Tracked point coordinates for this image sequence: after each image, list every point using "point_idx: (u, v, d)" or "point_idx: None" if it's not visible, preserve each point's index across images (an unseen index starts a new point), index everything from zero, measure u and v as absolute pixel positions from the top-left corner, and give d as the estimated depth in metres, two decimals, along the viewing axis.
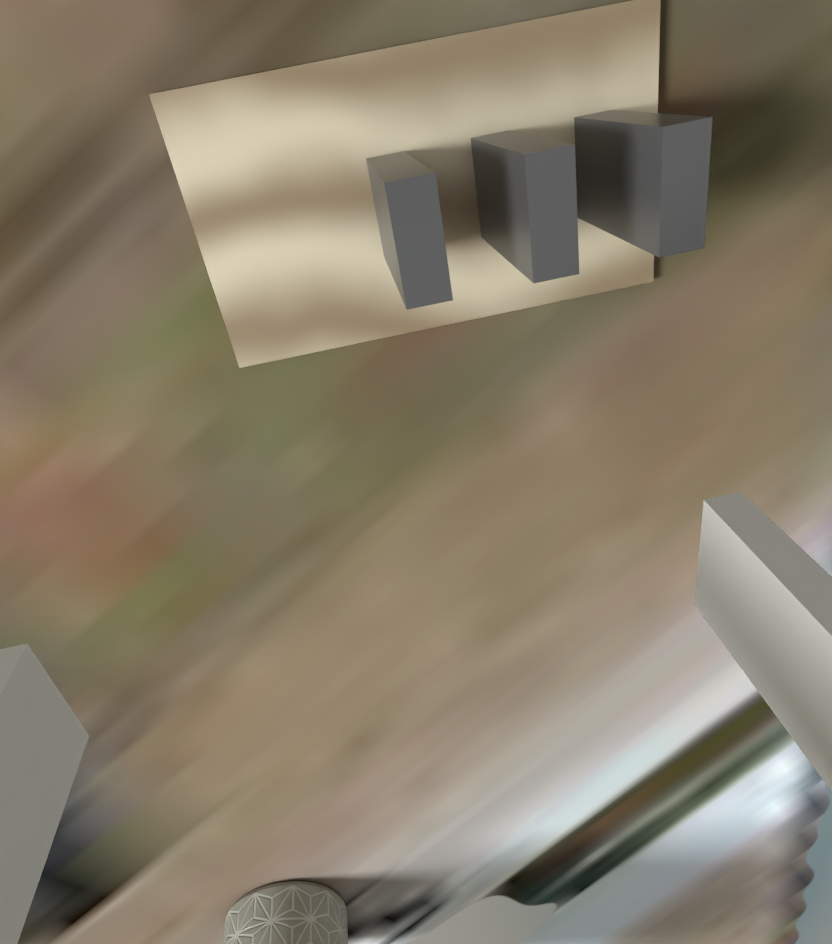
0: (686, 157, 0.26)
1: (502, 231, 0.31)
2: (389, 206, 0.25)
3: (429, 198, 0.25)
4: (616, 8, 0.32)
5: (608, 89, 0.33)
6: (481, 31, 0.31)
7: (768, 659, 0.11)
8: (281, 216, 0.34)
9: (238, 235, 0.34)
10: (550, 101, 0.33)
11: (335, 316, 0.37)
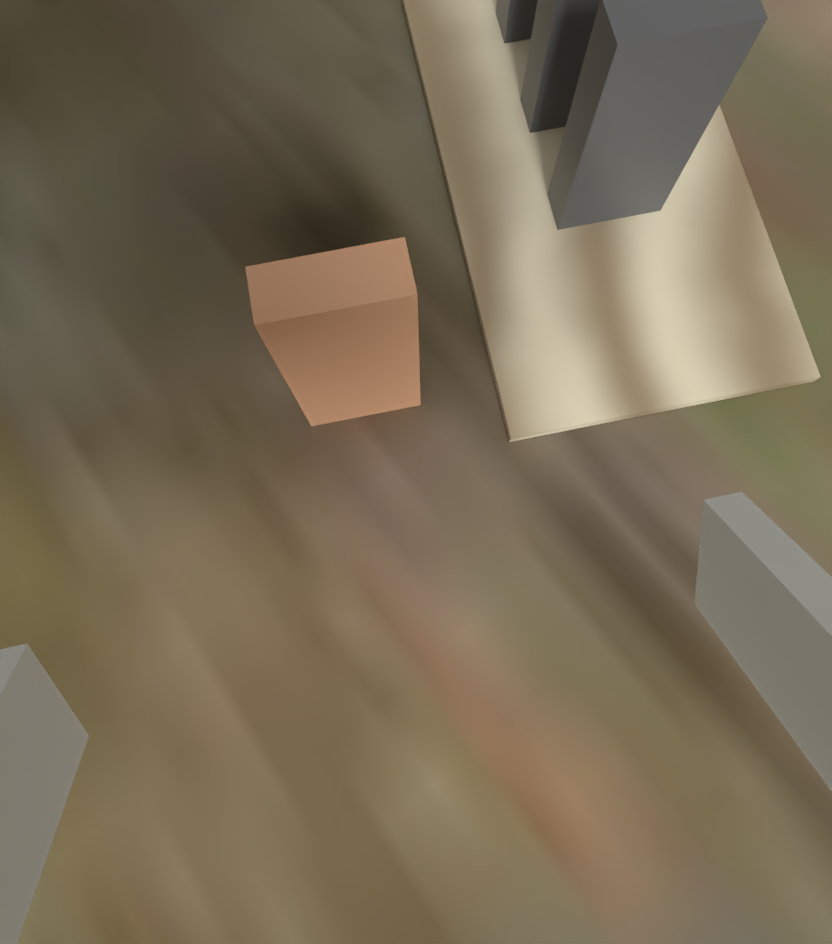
0: None
1: None
2: (643, 39, 0.21)
3: (629, 0, 0.21)
4: (413, 23, 0.34)
5: (478, 18, 0.34)
6: (436, 131, 0.32)
7: (769, 659, 0.11)
8: (624, 316, 0.30)
9: (650, 363, 0.29)
10: (492, 65, 0.33)
11: (736, 262, 0.30)
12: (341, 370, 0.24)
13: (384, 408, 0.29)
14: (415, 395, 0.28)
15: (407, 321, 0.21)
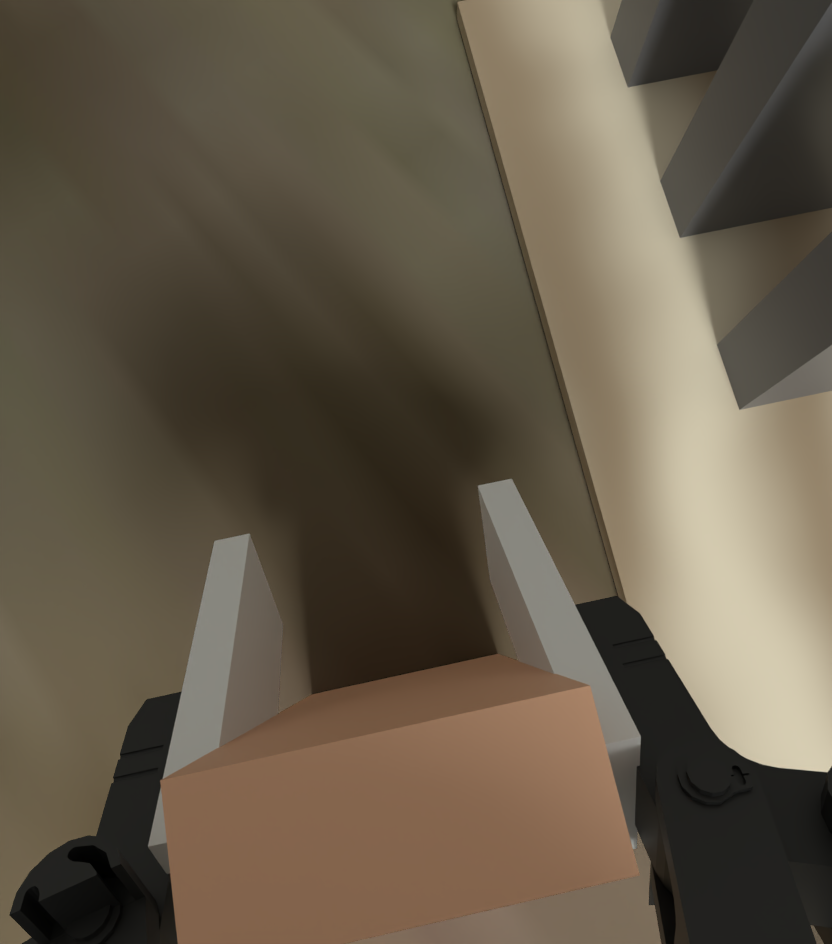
0: None
1: None
2: None
3: None
4: (478, 54, 0.21)
5: (583, 46, 0.21)
6: (525, 235, 0.19)
7: (513, 623, 0.13)
8: None
9: None
10: (610, 124, 0.20)
11: None
12: None
13: None
14: None
15: None
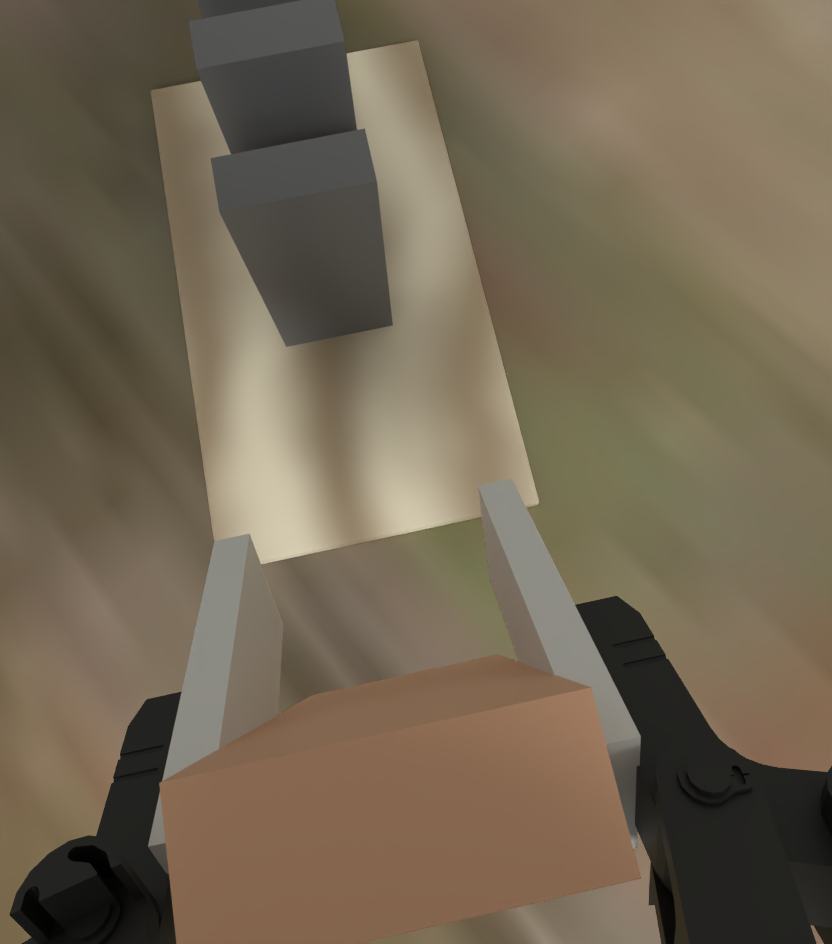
0: None
1: None
2: (246, 205, 0.20)
3: (239, 162, 0.21)
4: (159, 125, 0.33)
5: None
6: (173, 241, 0.31)
7: (513, 623, 0.13)
8: (346, 439, 0.29)
9: (368, 489, 0.28)
10: None
11: (465, 380, 0.29)
12: None
13: None
14: None
15: None
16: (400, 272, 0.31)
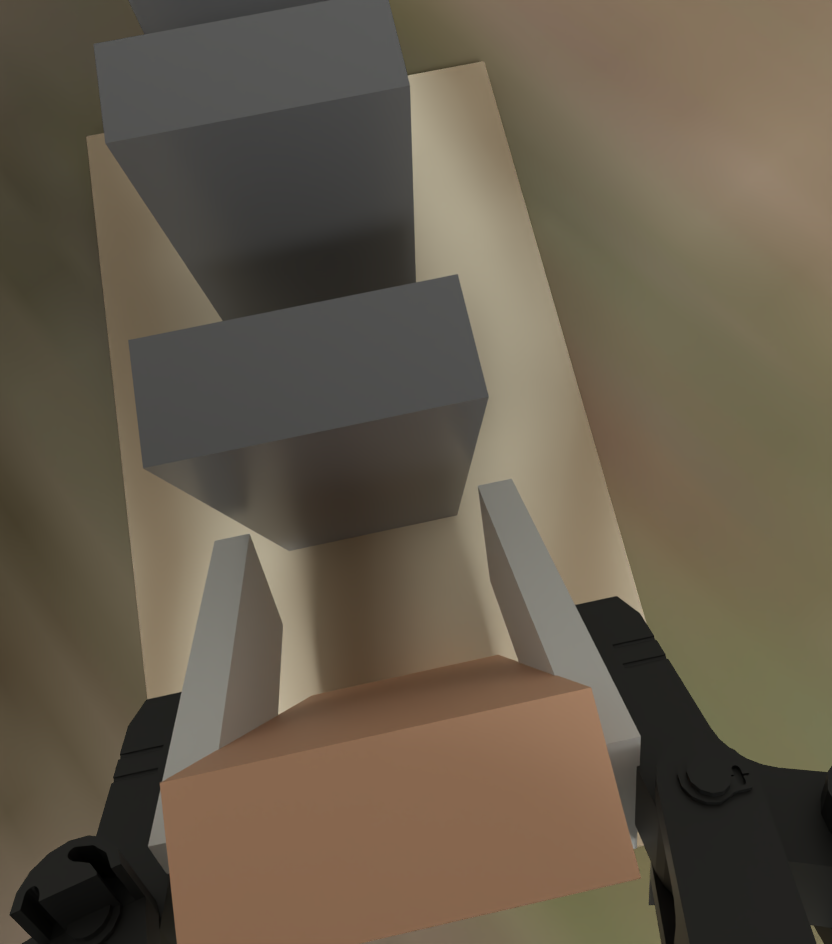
0: None
1: (362, 262, 0.15)
2: (203, 452, 0.09)
3: (189, 350, 0.10)
4: (98, 190, 0.22)
5: None
6: (114, 373, 0.20)
7: (513, 623, 0.13)
8: None
9: None
10: None
11: None
12: None
13: None
14: None
15: None
16: None
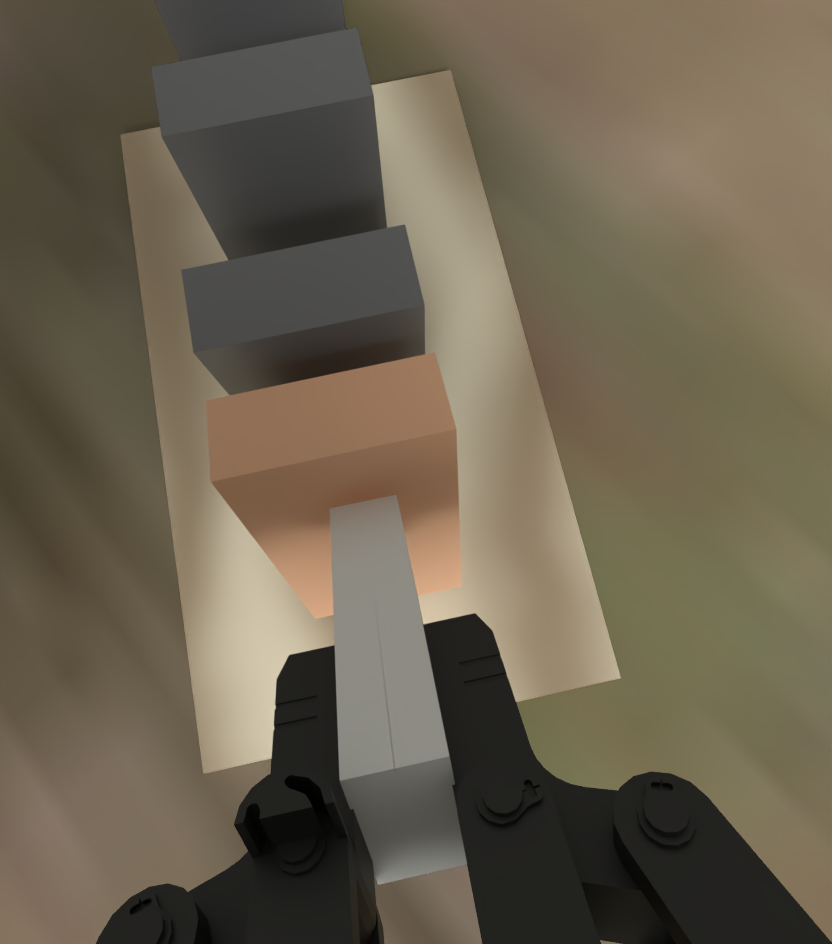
0: None
1: (346, 229, 0.20)
2: (233, 342, 0.14)
3: (222, 276, 0.14)
4: (131, 179, 0.26)
5: None
6: (147, 327, 0.25)
7: None
8: None
9: None
10: None
11: (520, 511, 0.23)
12: None
13: None
14: (454, 574, 0.21)
15: (442, 471, 0.15)
16: None
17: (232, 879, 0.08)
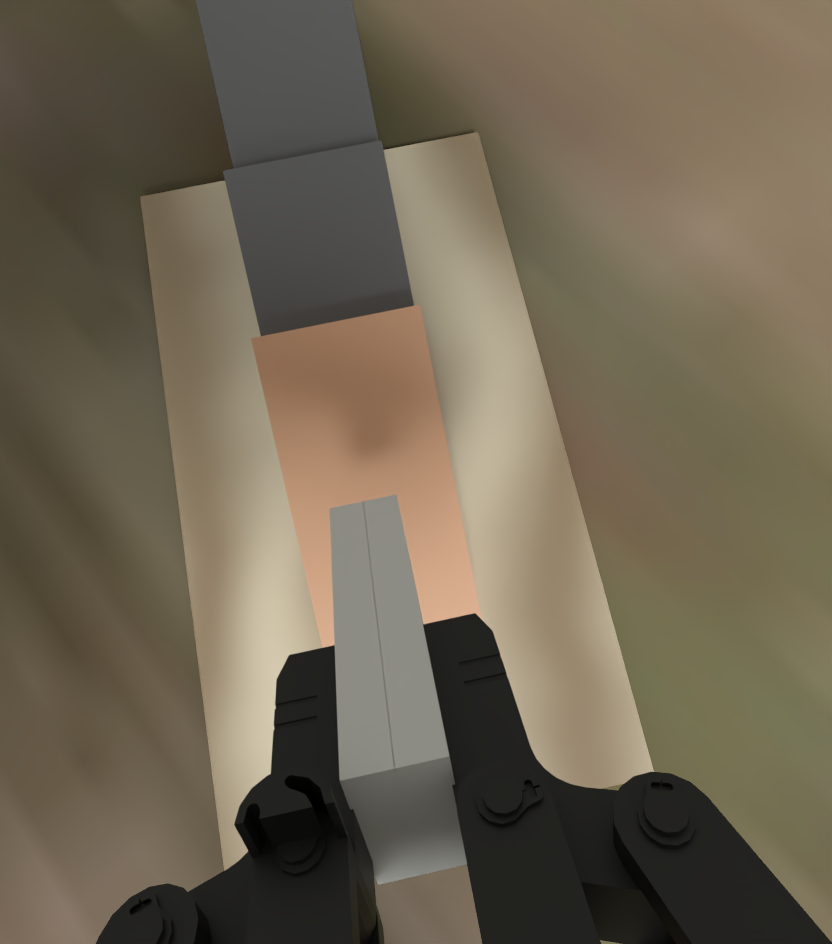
0: None
1: (338, 127, 0.22)
2: (250, 166, 0.20)
3: None
4: (151, 243, 0.26)
5: (236, 236, 0.26)
6: (167, 400, 0.24)
7: None
8: None
9: None
10: (248, 304, 0.25)
11: (550, 598, 0.22)
12: (354, 475, 0.20)
13: None
14: (468, 586, 0.20)
15: (419, 362, 0.19)
16: (462, 444, 0.24)
17: (232, 879, 0.08)
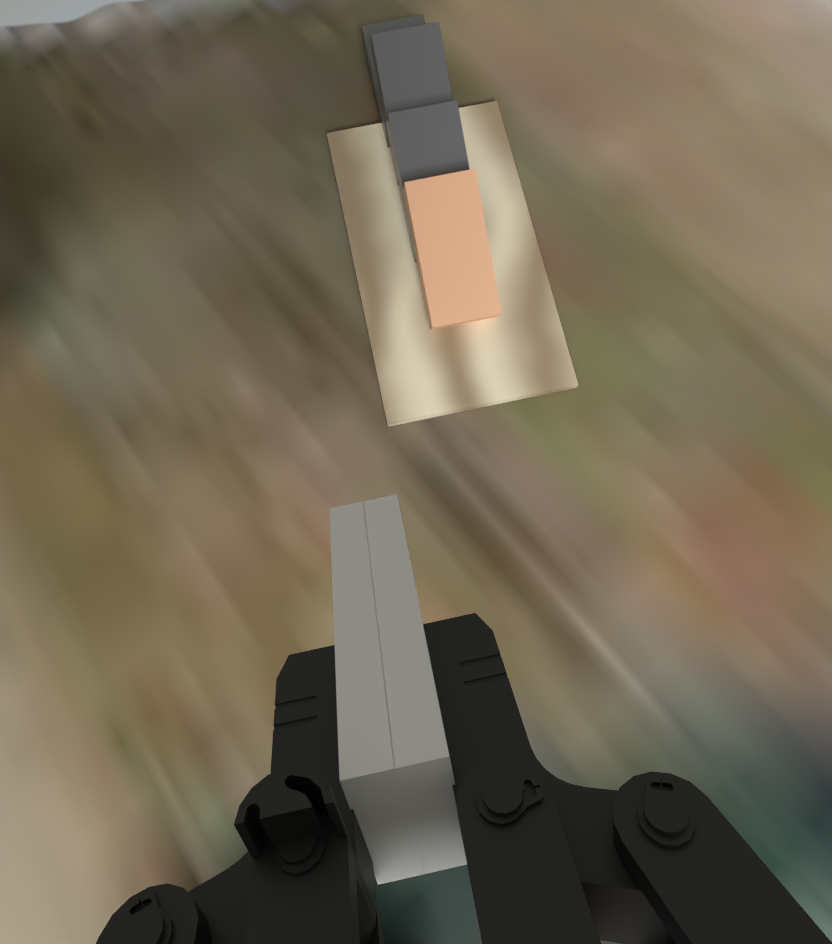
0: None
1: (434, 95, 0.48)
2: (400, 111, 0.46)
3: None
4: (334, 155, 0.52)
5: (376, 152, 0.52)
6: (347, 228, 0.50)
7: None
8: (460, 348, 0.48)
9: (475, 377, 0.47)
10: (384, 184, 0.51)
11: (532, 313, 0.48)
12: (446, 243, 0.45)
13: (477, 311, 0.46)
14: (495, 295, 0.46)
15: (474, 193, 0.45)
16: (490, 248, 0.50)
17: (232, 879, 0.08)
